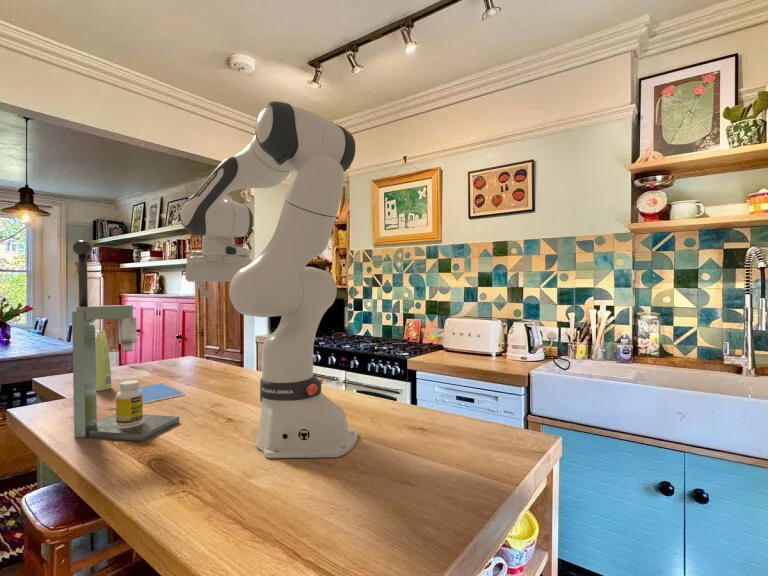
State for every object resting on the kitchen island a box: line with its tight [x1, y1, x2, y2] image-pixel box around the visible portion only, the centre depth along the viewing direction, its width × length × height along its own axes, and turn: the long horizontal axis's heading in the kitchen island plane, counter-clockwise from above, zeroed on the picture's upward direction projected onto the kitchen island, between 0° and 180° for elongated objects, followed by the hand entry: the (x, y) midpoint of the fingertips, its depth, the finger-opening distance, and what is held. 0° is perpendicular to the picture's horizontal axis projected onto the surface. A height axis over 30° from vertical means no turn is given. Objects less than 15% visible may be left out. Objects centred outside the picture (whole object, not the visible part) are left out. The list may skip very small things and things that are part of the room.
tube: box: [95, 329, 112, 392], centre depth 133 cm, size 6×5×20 cm
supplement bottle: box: [115, 379, 144, 426], centre depth 96 cm, size 5×5×10 cm
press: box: [71, 240, 180, 442], centre depth 96 cm, size 18×13×45 cm
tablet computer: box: [138, 383, 186, 405], centre depth 127 cm, size 19×13×1 cm, turn 49°
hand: (219, 297), depth 118 cm, fingers open, 8 cm apart
